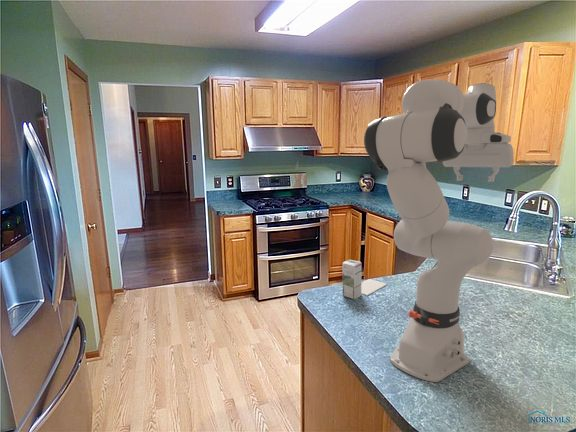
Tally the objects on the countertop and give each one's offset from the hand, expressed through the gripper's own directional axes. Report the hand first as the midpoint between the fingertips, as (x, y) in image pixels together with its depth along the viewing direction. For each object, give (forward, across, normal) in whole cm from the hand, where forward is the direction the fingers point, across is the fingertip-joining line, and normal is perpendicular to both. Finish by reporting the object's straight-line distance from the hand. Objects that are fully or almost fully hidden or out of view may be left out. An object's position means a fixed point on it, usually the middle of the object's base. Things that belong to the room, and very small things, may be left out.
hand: (474, 181), depth 113 cm
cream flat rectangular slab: (+47, -38, -2) cm, 61 cm away
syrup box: (+47, -39, -13) cm, 62 cm away
